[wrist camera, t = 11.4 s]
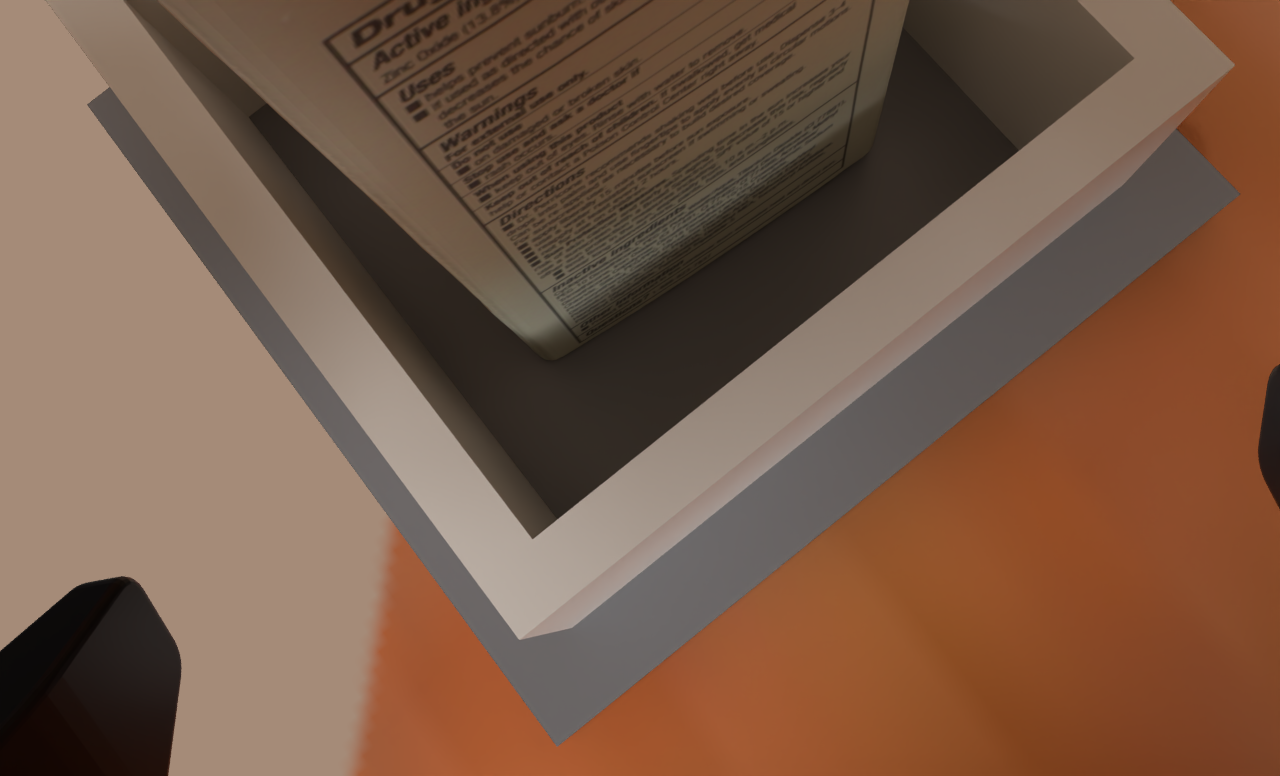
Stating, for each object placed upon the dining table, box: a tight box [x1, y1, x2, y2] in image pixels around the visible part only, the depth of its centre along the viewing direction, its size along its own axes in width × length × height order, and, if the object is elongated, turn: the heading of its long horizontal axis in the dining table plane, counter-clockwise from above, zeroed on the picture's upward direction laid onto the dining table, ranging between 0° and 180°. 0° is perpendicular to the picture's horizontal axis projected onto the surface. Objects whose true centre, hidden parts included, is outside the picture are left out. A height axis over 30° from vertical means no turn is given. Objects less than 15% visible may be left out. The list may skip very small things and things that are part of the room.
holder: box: [46, 0, 1240, 746], centre depth 16 cm, size 13×13×5 cm
